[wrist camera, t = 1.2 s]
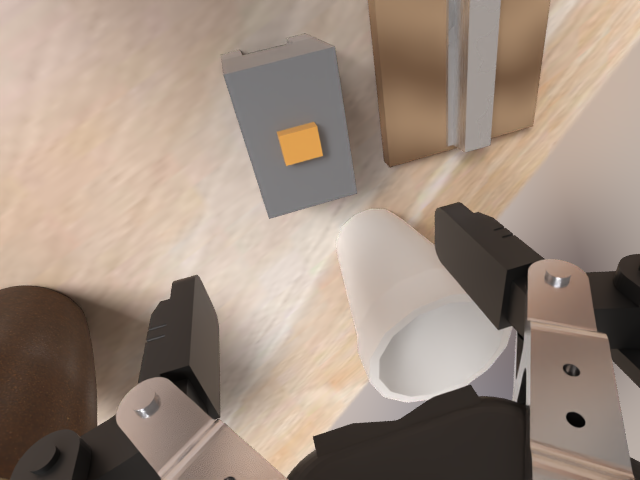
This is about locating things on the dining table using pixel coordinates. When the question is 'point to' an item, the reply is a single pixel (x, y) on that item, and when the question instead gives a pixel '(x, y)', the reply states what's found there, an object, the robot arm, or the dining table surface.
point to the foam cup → (411, 311)
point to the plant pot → (42, 370)
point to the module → (292, 122)
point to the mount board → (430, 72)
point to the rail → (470, 71)
